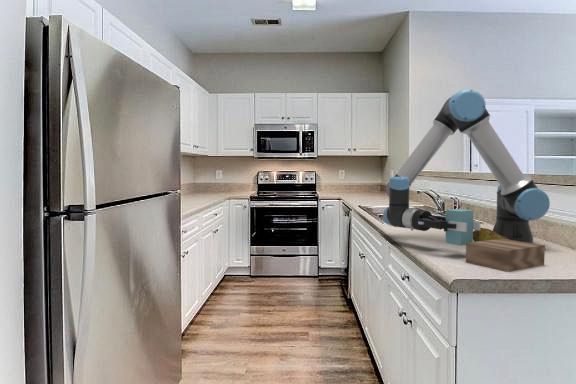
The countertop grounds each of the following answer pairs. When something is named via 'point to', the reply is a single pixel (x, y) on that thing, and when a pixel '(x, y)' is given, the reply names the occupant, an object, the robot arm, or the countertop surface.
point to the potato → (486, 235)
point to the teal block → (462, 217)
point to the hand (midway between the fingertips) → (472, 226)
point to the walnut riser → (505, 254)
